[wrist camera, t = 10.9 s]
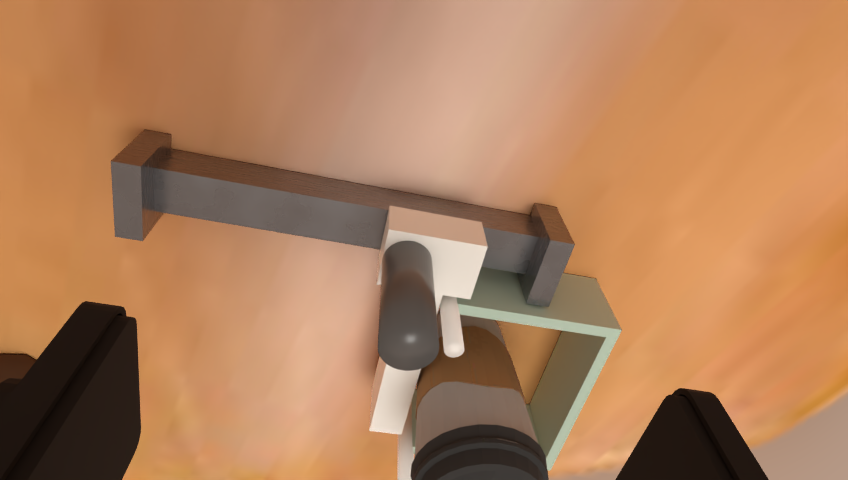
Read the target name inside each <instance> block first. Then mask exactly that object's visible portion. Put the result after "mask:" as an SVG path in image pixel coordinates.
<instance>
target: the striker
mask: <svg viewBox="0 0 848 480" xmlns="http://www.w3.org/2000/svg"><path fill="white" fill-rule="evenodd" d="M487 248H488V246H487V242H486V237H485V233H484V229H483V225H482V222H478V221H473V220H467V219H462V218H456V217H451V216H445V215H440V214H434V213H428V212H423V211H417V210H412V209H406V208H401V207H395V206H389V211H388V216H387V220H386V225H385V229H384V234H383V239H382V243H381V248H380V252H379V257H378V271H377V285H381V295H380V315H379V335H378V352H379V355H380V356H379V360H378V364H377V369H376V373H375V377H374V381H373V385H372V394H371V411H370V428H369V431H376V432H384V433H392V434H400V435H402V431H403V428H404V425H405V421H406V418H407V414H408V411H409V408H410V404H411V401H412V397H413V394H414V391H415V387H416V384H417V381H418V377H419V374H420V370H421V368H424V367H426V366H428V365H429V364H430V363H432V362H433V361H434V359H435V358H436V357H437V355H438V352H439V338H438V326H437V313H438V310H439V306H440V303H441V299H442V296H443V295H445V296H451V297H458V298H464V299H471V296H472V293H473V290H474V287H475V284H476V281H477V278H478V275H479V272H480V269H481V266H482V263H483V260H484V257H485V254H486V251H487Z"/></svg>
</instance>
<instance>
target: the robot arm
mask: <svg viewBox="0 0 848 480" xmlns="http://www.w3.org/2000/svg"><path fill="white" fill-rule="evenodd" d="M140 433H141V419H140V394H139V369H138V344H137V323H136V319H135V318H133V317H127V316H126V311H125V309H124V307H121V306H115V305H108V304H101V303H94V302H87V301H86V302H83V303H82V304H81V305H80V306H79V307H78V308H77V309H76V310H75V312H74V313H73V314H72V315H71V317H70V318H69V319H68V321H67V322H66V323H65V324H64V326H63V327H62V328H61V330H60V331H59V332H58V333H57V335H56V336H55V337H54V339H53V340H52V341H51V342H50V344H49V345H48V346H47V348H46V349H45V350H44V351H43V353H42V354H41V355H40V357H39V358H38V359H37V360H36V362H35V363H34V364H33V366H32V367H31V368H30V369H29V371H28V372H27V373H26V374H25V376H24V377H23V378H22V379H20V378H8V379H6V380H4V381H3V382H1V383H0V480H122V478H123V476H124V474H125V472H126V470H127V468H128V466H129V464H130V462H131V459H132V457H133V455H134V453H135V451H136V448H137V445H138V442H139V438H140ZM616 480H768V478H767V477H766V475H765V473H764V472H763V470H762V469H761V467H760V465H759V463H758V462H757V460H756V459H755V457H754V455H753V454H752V452H751V451H750V449H749V447H748V446H747V444H746V443H745V441H744V439H743V438H742V436H741V435H740V433H739V431H738V430H737V428H736V427H735V425H734V423H733V422H732V420H731V419H730V417H729V415H728V414H727V412H726V411H725V409H724V407H723V406H722V404H721V403H720V401H719V399H718V398H717V397H716V396H715V395H714V394H712V393H710V392H704V391H698V390H691V389H683V388H679V389H677V390H676V391H675V392H674V393H673V394H672V395H668V396H666V398H665V399H664V400H663V402H662V403H661V405H660V407H659V408H658V410H657V412H656V413H655V415H654V417H653V418H652V420H651V422H650V423H649V425H648V427H647V428H646V430H645V432H644V433H643V435H642V437H641V438H640V440H639V442H638V443H637V445H636V447H635V448H634V450H633V452H632V453H631V455H630V457H629V458H628V460H627V461H626V463H625V465H624V466H623V468H622V470H621V471H620V473H619V475H618V476H617V478H616Z"/></svg>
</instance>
